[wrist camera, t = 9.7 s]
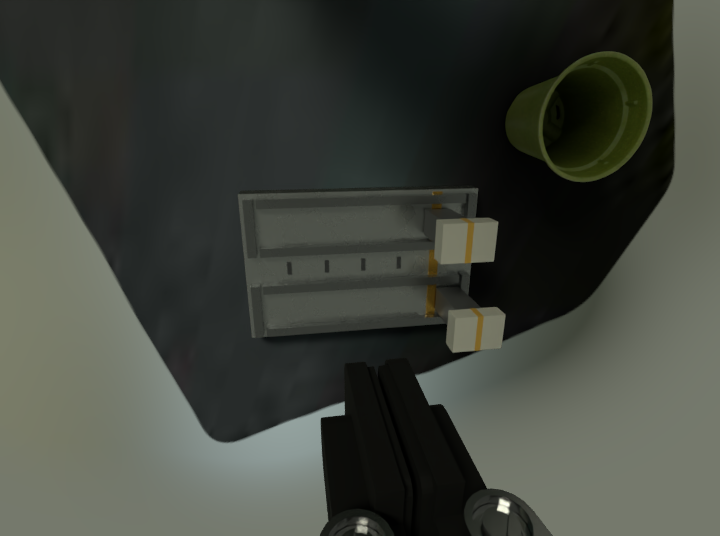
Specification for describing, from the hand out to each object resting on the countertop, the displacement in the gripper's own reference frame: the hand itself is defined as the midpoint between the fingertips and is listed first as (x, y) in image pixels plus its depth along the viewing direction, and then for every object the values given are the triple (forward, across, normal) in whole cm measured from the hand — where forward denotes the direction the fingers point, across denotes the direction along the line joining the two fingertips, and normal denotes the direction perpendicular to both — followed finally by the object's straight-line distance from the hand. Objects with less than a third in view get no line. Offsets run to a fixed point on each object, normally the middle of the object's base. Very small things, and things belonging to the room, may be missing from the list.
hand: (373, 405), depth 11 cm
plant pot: (+30, -22, -6) cm, 37 cm away
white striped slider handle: (+27, -11, +3) cm, 30 cm away
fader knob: (+27, -13, +11) cm, 32 cm away
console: (+29, -4, +7) cm, 30 cm away
